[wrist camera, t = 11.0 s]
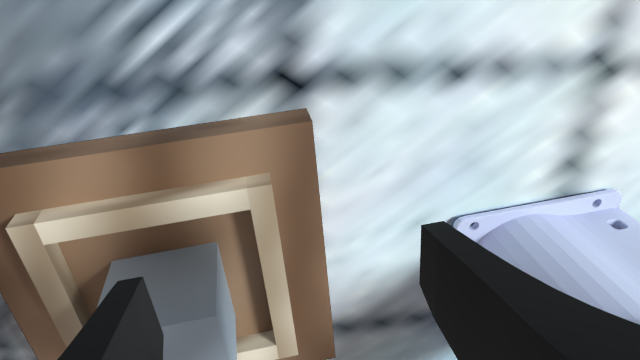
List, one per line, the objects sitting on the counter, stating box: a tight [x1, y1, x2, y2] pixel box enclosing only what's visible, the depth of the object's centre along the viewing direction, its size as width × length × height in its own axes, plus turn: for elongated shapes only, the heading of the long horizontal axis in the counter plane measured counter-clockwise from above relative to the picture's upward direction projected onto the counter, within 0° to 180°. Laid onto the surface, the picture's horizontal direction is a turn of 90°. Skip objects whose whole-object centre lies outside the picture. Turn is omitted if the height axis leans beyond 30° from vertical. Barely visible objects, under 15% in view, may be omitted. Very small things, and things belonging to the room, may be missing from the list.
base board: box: [0, 108, 335, 360], centre depth 21 cm, size 14×14×2 cm
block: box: [97, 242, 237, 360], centre depth 19 cm, size 4×4×4 cm
